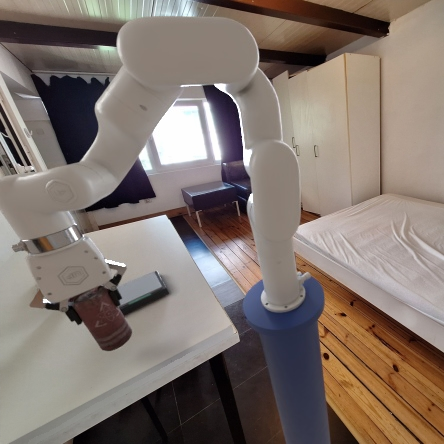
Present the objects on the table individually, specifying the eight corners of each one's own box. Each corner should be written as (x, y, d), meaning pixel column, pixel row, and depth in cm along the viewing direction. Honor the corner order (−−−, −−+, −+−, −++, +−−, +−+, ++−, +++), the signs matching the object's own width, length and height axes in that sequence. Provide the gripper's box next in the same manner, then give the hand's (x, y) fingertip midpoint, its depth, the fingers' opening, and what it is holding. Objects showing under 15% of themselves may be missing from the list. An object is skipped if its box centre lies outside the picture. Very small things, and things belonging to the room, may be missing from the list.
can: (136, 325, 57) (111, 280, 52) (129, 345, 52) (99, 297, 46) (108, 334, 56) (79, 289, 50) (97, 356, 50) (63, 308, 45)
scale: (158, 275, 87) (156, 269, 86) (169, 293, 76) (165, 286, 75) (111, 296, 78) (107, 289, 77) (114, 319, 67) (110, 312, 66)
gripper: (-22, 268, 36) (44, 348, 43) (111, 227, 45) (147, 298, 52) (-8, 253, 41) (49, 326, 48) (109, 219, 51) (141, 284, 58)
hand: (99, 311), depth 50 cm, fingers closed on can, 6 cm apart
